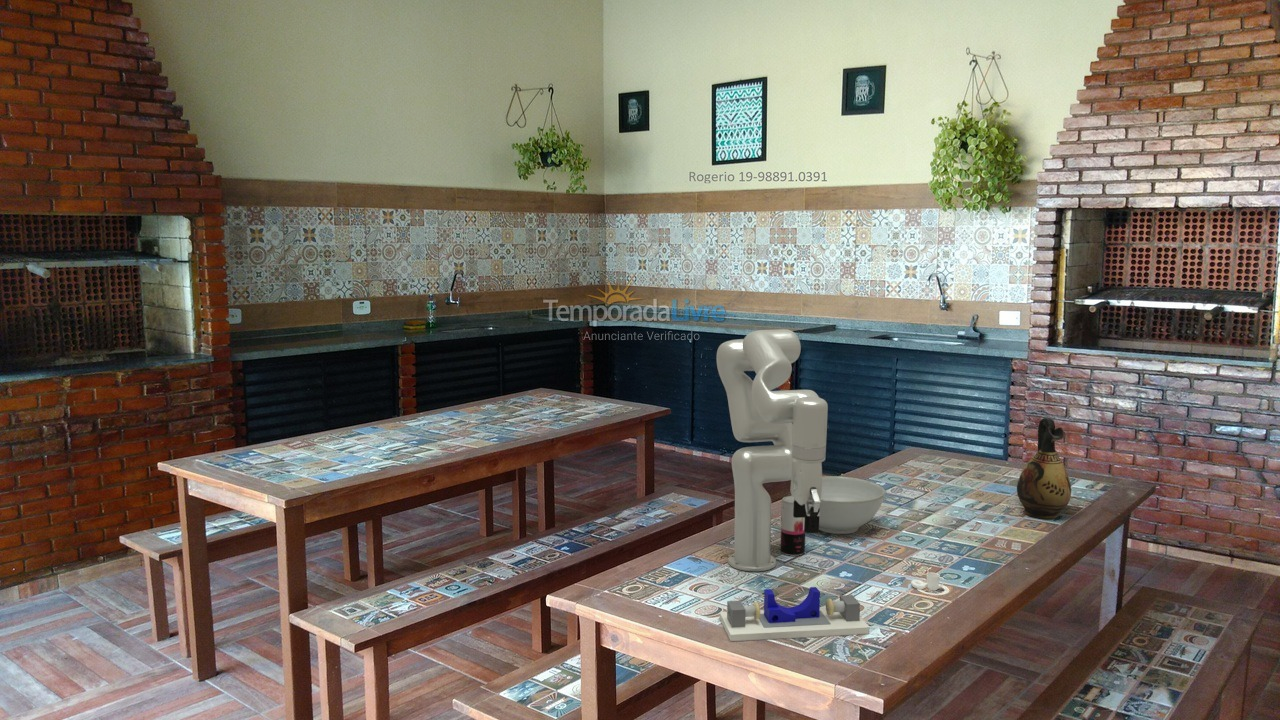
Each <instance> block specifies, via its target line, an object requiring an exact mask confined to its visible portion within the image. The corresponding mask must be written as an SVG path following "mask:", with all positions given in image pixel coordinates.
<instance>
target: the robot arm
mask: <svg viewBox="0 0 1280 720" xmlns="http://www.w3.org/2000/svg"><path fill="white" fill-rule="evenodd" d="M801 348H802V347H801V341H800V339H799V337H798V335H797V334H796V332H794V331H793V330H790V329H787V328H784V329H783V328H782V329H781V328H780V329H760V330H759V329H758V330H753V331H752V332H749V333H748V334H747V335H746V336H744V338H740V339H738V338H737V339H731V340H727V341H724V342H723V343H720V345H718V348H717V351H716V366H717V371H718V376H719V377H720V380H721V382H722V384H723V387H724V390H725V392H726V397H727V401H728V410H729V417H730V424H731V428H732V433H733V437H734V438H735V440H737V441H738V442H741V443H759V442H760V443H761V442H763V443H764V442H772V443H773V445H755V446H746V447H741V448H739V449H737V450H736V451H735V452H734V453H733V455H732V457H731V469H732V477H733V482H734V483H733V484H734V536H733V537H734V542H733V543H734V547H733V549H734V553H732V554H730V555H729V556H728V558H727V559H728V560H727V561H728V562H727V563H728V564H729V566H731V567H732V568H734V569H736V570H739V571H744V572H765V571H769V570H772V569H774V568H775V567H776V565H777V559H776V558H775V556H774V555H772V554H771V547H772V546H771V544H772V543H771V542H772V541H771V539H772V537H771V536H772V535H771V534H772V499H771V495H770V494H769V492H768V491H767V490H766V489H765V487H764V486H763V484H766V483H776V482H787V481H790V487H789V488H790V490H789V492H790V495H791V496H793V497H794V500H796V501H794V508H793V516H794V517H795V518H802V517H805V521H804V532H805V534H809V533H810V534H811V533H812V534H817V533H819V531H820V530H819V516H820V512H819V511H820V508H819V507H820V503H821V496H822V476H823V466H822V465H823V464H822V463H823V462H825V461H826V453H827V433H828V432H827V431H828V430H827V429H828V410H829V409H828V408H829V407H828V402H827V401H826V400H825V399H824V398H821V397H820V396H819V395H818V394H817V393H816V392H815V391H814V390H812V389H791V390H790V389H789V390H787V389H786V390H784V389H783V390H776V389H777V388H778V387H780V386H782V385H783V384H785V383H786V382H787V381H788V379H789V378H790V377H791V374H792V372H793V371H792V370H793V367H792V364H793V363H795V362H796V361H797V360H799V357H800V354H801V351H802V350H801ZM745 372H755V377H754V378H753V380H752V378H751V377H750V376H749V375H747V374H746V373H745ZM808 501H813V502H808ZM809 506H813V507H811V508H810V510H809Z"/></svg>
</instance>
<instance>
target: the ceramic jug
mask: <svg viewBox="0 0 1280 720" xmlns="http://www.w3.org/2000/svg"><path fill="white" fill-rule="evenodd" d="M1037 428H1038V429H1037V452H1036V453H1035V454H1034V456H1033V457H1032V458H1031V459H1030V460H1029V461H1028V463H1026V465H1025V466H1024V468H1023V469H1022V471H1021V472H1020V475H1019V478H1018V479H1017V480H1018V481H1017V483H1016V493H1017V497H1018V500H1019V502H1020V504H1021V505H1022V506H1023V507H1024V513H1025V514H1026V515H1027V516H1028V517H1030V518H1035V519H1036V518H1037V519H1039V520H1040V519H1041V520H1050V519H1051V520H1052V519H1053V520H1054V519H1056V518H1057V516H1058V515H1059V513H1060V512H1062V510H1064V508H1066V507H1067V506H1068V505H1069V503H1070V500H1071V496H1072V484H1071V483H1072V482H1071V479H1070V476H1069V473H1068V471H1067V469H1066V466H1065V464H1064V463H1063V461H1062V459H1061V457H1060V456H1059V455H1058V452H1057V450H1056V445H1055V444H1056V441H1060V440H1063V439H1064V437H1065V432H1064V429H1063V428H1062V427H1057V428H1056V424H1055V421H1054V419H1053V418H1051V417H1043V418H1042V419H1041V420H1039V423H1038V427H1037Z"/></svg>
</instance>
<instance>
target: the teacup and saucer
mask: <svg viewBox="0 0 1280 720" xmlns="http://www.w3.org/2000/svg"><path fill="white" fill-rule="evenodd" d="M941 579H942V580H943V582H942V584H941V583H940V581H941ZM944 584H945V578H944V577H942V576H941V574H939V573H937V572H927V573H926V582H924V581H921V580H919V579H912V580H911V581H910V585H911V586H912V587H913V588H915V589H916V590H917V591H918V592H920V593H922V594H925V595H931V596H944V595H947V594H949V593H950V588H948V587H947V586H946V585H944ZM926 588H927V590H930V591H937V590H938V589H940V588H942V589H943V590H944V591H943V592H940V593H937V592H935V593H934V592H927V591H924V590H925V589H926Z"/></svg>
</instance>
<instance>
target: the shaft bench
mask: <svg viewBox="0 0 1280 720" xmlns="http://www.w3.org/2000/svg"><path fill="white" fill-rule="evenodd" d="M726 607H727V608H726V610H727V611H720V612H719V621H720V622H721V625H722V627H723V628H724V630H725V633H726V635H727V637H728V638H729V641H730V642H740V641H741V642H742V641H757V640H758V641H759V640H760V641H762V640H775V639H776V640H780V639H781V640H782V639H797V638H799V639H800V638H815V637H832V636H833V637H834V636H853V635H869V634H870V626H869V625H868V624H867V622H866V621H865V620H864V619H863V618H862V617H861V616H860V615H861V603H860V602H859V601H858V600H857V599H856V597H855V596H854V595H853V594H850V595H849V594H848V595H847V594H843V595H839V600H836V601H835V600H833V599H832V598H826V600H825V606H820V614H819V618H801V619H795V622H782V623H769V622H768V621H767V619H766V618H765V616H764V609H761V608H760V603H759V602H758V601H755V602H753V603H752V605H744V604H743V602H742V601H741V600H727V604H726Z"/></svg>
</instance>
